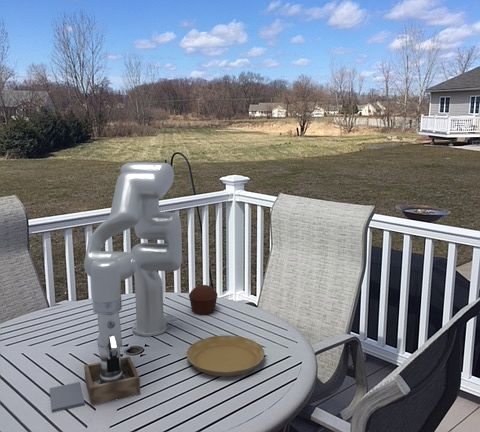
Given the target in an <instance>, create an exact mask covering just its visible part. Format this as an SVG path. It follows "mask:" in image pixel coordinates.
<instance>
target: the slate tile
mask: <svg viewBox="0 0 480 432" xmlns="http://www.w3.org/2000/svg"><path fill="white" fill-rule="evenodd" d="M49 394H50V405H51V412H52V413H55V412H61V411H63V410H69V409H73V408H77V407H82V406H85V398H84V394H83V389H82V385H81V381H77V382H73V383H68V384H63V385H59V386H53V387H49Z"/></svg>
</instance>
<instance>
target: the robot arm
mask: <svg viewBox="0 0 480 432" xmlns="http://www.w3.org/2000/svg"><path fill="white" fill-rule="evenodd" d="M174 178H175V171H174V168H173V166H172V165H171V164H169V163H167V162H144V161H143V162H139V161H138V162H137V161H136V162H126V163H124V164H123V165H122V166H121V167H120V174H119V176H118V177H117V179H116V182H115V189H114V192H113V193H114V194H113V198H112V203H111V207H110V214H109V216H108V217H107V218H106V219H105V220H103V222H101V224H99V225H98V227H97V228H95V230H94V231H93V233H92V234H91V235H90V237H89V240H88V242H87V246H86V250H85V251H86V252H85V256H84V262H83V269H84V272H85V273H86V275H87V276H89V277H90V281H91V282H90V283H91V295H92V296H91V299H92V312H93V313H94V314H95V315H97V326H98V335H99V334H100V336H101V340H102V344H103V348H104V349H105V350H107V357H108V358H106V359H107V372H108V373H110V372H115V371H119V370H120V365H119V355H118V348H117V346H118V347H120V348H122V347H123V339H122V327H121V320H120V317H121V316H120V312H121V311H122V309H123V307H122V306H123V305H122V289H121V287H122V286H121V283H122V282H123V281H125V280H128V279H129V278H131V277H133V276H134V294H135V318H136V320H135V321H136V322H135V323H134V324H133V325H132V328H131V329H132V332H133V333H134V334H135V335H137V336H140V337H154V336H158V335H161V334H163V333H165V332H166V331H168V329H169V323H172V322H177V321H178V317H177V316H176V315H174V316H173V315H172V314H167V315H165V314H164V296H163V295H164V293H163V292H164V291H163V287H164V286H163V279H162V277H161V276H160V274H159V272H176V271H178V270H179V269H181V266H182V262H183V261H182V260H183V243H182V242H183V241H182V240H183V239H182V231H183V230H182V220H181V218H180V216H179V215H178V214H177V213H175V212H169V211H167V212H166V211H165V212H164V211H160V199H162V198H163V197H164V196H165V195H166V193H167V192H168V190H170V188H171V187H172V185H173V183H174V181H175V180H174ZM131 228H134V232H135V236H136V237H137V238H138V239H141V240H148V241H149V240H150V241H151V240H154V241H157V240H159V241H165V242H166V243H163V242H161V243H160V242H141V243H137V244H135V245H134V246H133V247H132V248H131V250H130V252H128V251H114V250H113V251H111V250H102V248H103V246H104V245H105V243H106V242H107V241H108V240H110V239H111V238H112V237H113V236H116V235H118V234H120V233H122V232H124V231H127V230H129V229H131ZM108 345H111V347H108ZM109 350H111V352H110V353H109Z"/></svg>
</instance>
